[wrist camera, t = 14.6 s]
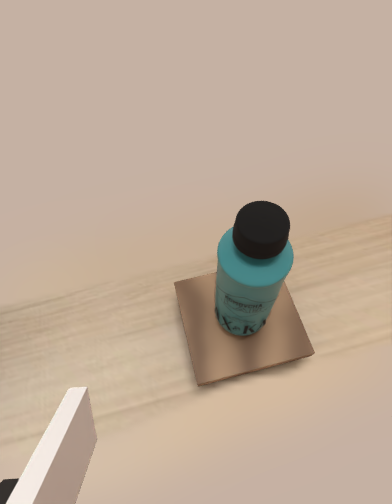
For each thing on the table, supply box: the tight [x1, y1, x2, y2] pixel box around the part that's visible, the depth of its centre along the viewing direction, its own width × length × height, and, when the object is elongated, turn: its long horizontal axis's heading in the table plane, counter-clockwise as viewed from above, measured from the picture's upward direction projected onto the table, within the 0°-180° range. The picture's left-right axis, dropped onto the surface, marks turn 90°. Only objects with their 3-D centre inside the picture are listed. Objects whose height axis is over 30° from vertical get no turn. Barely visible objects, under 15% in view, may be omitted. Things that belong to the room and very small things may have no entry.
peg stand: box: [174, 272, 315, 386], centre depth 42 cm, size 14×13×6 cm
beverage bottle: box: [214, 201, 294, 336], centre depth 31 cm, size 6×7×20 cm
